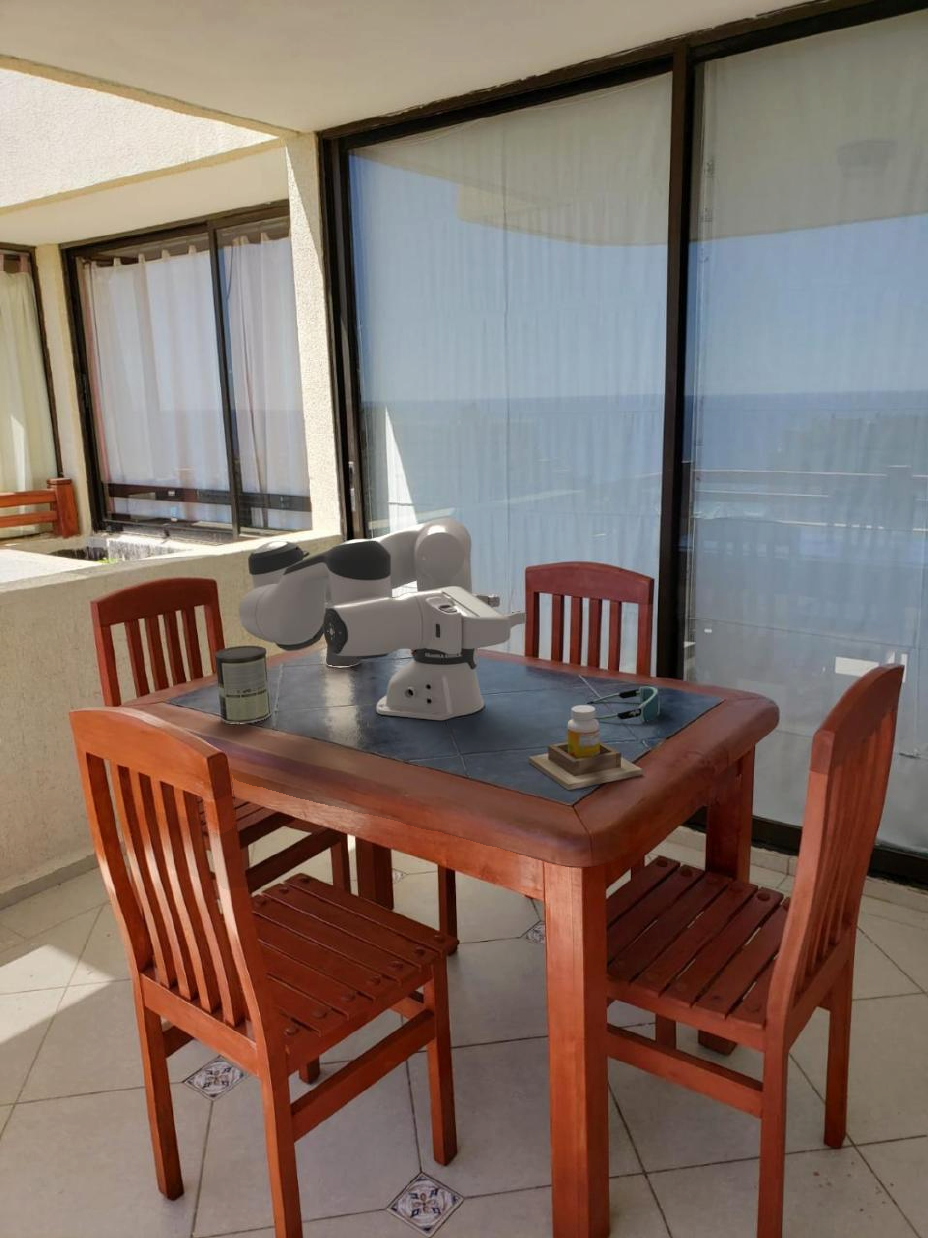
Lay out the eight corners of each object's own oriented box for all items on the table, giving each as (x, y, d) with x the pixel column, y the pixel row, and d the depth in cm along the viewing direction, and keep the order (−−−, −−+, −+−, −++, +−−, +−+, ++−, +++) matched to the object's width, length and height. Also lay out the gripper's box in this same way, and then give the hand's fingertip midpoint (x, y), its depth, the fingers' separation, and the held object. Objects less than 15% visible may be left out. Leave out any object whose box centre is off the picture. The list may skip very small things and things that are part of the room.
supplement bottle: (565, 758, 161) (564, 704, 159) (596, 756, 161) (595, 702, 159) (570, 769, 156) (570, 714, 154) (602, 768, 156) (602, 712, 154)
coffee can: (210, 720, 192) (203, 654, 189) (248, 706, 201) (242, 643, 198) (244, 728, 186) (238, 660, 184) (281, 714, 195) (276, 648, 192)
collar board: (568, 790, 150) (568, 769, 149) (528, 762, 163) (528, 743, 162) (641, 774, 155) (642, 755, 155) (598, 749, 168) (598, 730, 167)
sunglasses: (661, 725, 180) (658, 700, 179) (585, 732, 183) (581, 708, 182) (660, 703, 194) (657, 680, 193) (589, 710, 197) (585, 688, 196)
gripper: (407, 618, 154) (483, 608, 159) (455, 658, 136) (539, 646, 141) (406, 582, 152) (483, 573, 157) (455, 617, 134) (540, 606, 140)
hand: (510, 608), depth 149 cm, fingers open, 8 cm apart
